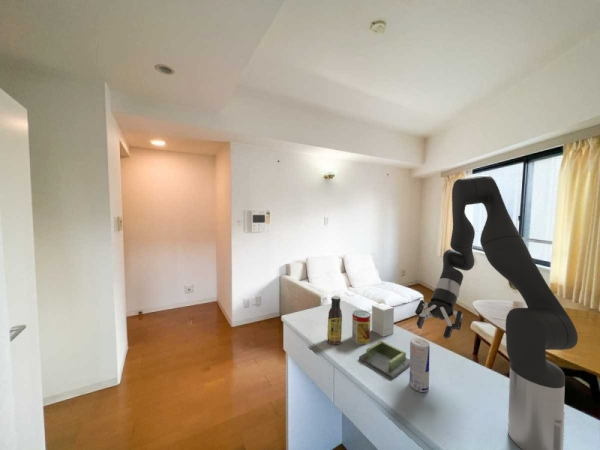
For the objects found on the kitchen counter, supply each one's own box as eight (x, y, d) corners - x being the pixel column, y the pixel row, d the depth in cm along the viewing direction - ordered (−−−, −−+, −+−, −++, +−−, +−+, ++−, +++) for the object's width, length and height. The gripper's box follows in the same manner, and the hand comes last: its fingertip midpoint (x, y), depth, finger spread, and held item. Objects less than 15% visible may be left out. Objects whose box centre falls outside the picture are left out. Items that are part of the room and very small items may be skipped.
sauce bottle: (330, 346, 98) (330, 300, 97) (325, 338, 104) (325, 295, 103) (344, 344, 100) (344, 299, 99) (338, 337, 106) (338, 294, 105)
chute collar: (412, 364, 86) (412, 353, 86) (392, 379, 78) (392, 367, 78) (379, 347, 97) (379, 337, 97) (359, 359, 89) (359, 349, 89)
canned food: (373, 342, 102) (374, 315, 101) (359, 345, 99) (359, 318, 98) (362, 333, 109) (363, 308, 109) (348, 336, 106) (349, 311, 106)
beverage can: (431, 394, 71) (432, 347, 71) (412, 391, 72) (413, 345, 72) (425, 382, 77) (426, 338, 76) (407, 379, 78) (408, 336, 77)
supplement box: (394, 333, 109) (394, 307, 109) (382, 337, 106) (383, 310, 105) (382, 327, 116) (382, 302, 115) (371, 330, 112) (371, 305, 112)
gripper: (423, 283, 90) (407, 319, 83) (465, 292, 79) (452, 335, 72) (428, 294, 93) (414, 329, 87) (470, 304, 82) (458, 346, 75)
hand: (431, 332), depth 79 cm, fingers open, 8 cm apart
